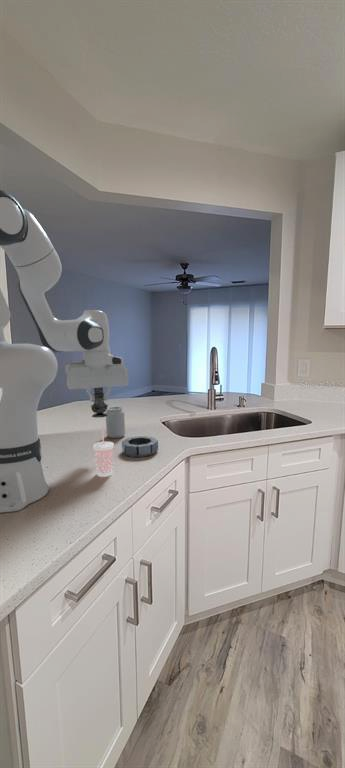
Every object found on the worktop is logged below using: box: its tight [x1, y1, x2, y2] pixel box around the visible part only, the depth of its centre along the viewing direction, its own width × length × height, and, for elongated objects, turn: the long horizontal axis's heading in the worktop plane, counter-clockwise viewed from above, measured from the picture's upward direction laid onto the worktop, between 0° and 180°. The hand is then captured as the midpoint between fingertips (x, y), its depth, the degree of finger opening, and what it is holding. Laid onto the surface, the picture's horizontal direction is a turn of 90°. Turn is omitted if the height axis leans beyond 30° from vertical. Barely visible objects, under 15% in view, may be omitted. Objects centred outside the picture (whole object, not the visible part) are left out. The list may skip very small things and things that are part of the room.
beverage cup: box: [92, 427, 115, 478], centre depth 100 cm, size 6×6×14 cm
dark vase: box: [90, 387, 109, 418], centre depth 115 cm, size 6×6×12 cm
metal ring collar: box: [121, 435, 159, 458], centre depth 120 cm, size 12×12×4 cm
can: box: [105, 406, 126, 439], centre depth 139 cm, size 8×8×12 cm
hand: (99, 400), depth 115 cm, fingers closed on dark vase, 3 cm apart
